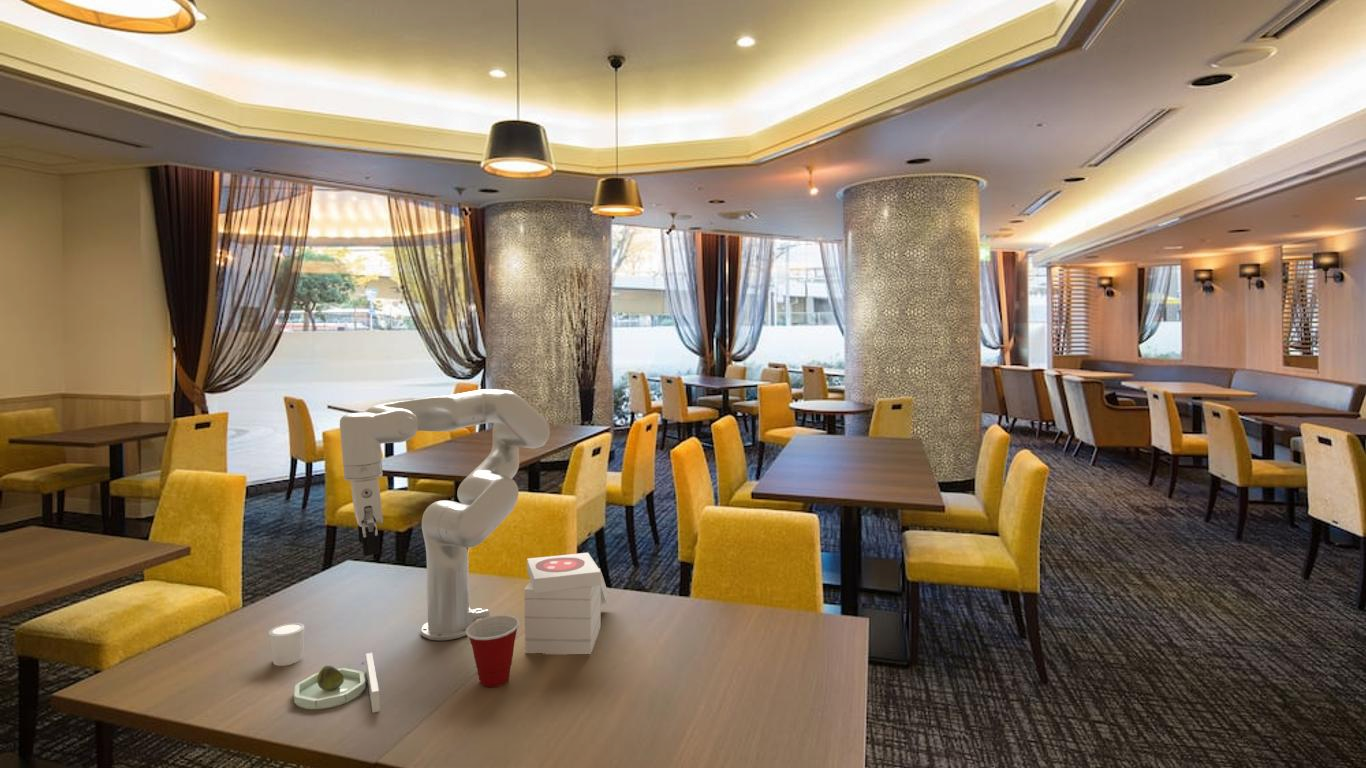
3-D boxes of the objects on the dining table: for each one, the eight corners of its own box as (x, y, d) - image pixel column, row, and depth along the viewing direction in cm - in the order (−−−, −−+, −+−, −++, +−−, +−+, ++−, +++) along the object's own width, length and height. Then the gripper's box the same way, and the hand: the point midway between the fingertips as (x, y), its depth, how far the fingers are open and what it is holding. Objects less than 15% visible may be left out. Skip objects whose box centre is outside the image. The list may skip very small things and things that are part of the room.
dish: (363, 671, 148) (363, 663, 148) (367, 699, 137) (367, 690, 137) (294, 685, 142) (294, 676, 142) (292, 715, 131) (292, 706, 131)
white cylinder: (289, 668, 150) (288, 636, 149) (262, 665, 151) (261, 633, 150) (312, 654, 156) (311, 623, 156) (286, 651, 158) (285, 621, 157)
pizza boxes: (615, 607, 184) (615, 539, 183) (597, 659, 155) (597, 579, 153) (543, 605, 185) (542, 538, 184) (511, 657, 155) (510, 578, 154)
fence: (372, 670, 149) (372, 652, 148) (379, 711, 133) (378, 690, 133) (366, 672, 148) (365, 653, 148) (372, 712, 132) (371, 692, 132)
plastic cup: (464, 673, 148) (463, 618, 147) (516, 664, 152) (515, 610, 151) (468, 698, 138) (467, 639, 137) (524, 688, 142) (523, 630, 141)
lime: (318, 686, 141) (317, 662, 140) (345, 682, 143) (344, 658, 142) (316, 697, 137) (315, 672, 136) (343, 692, 138) (342, 668, 138)
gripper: (386, 476, 144) (393, 556, 146) (377, 460, 159) (383, 533, 161) (346, 481, 140) (353, 563, 142) (341, 465, 155) (347, 539, 157)
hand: (369, 547), depth 152 cm, fingers open, 9 cm apart
